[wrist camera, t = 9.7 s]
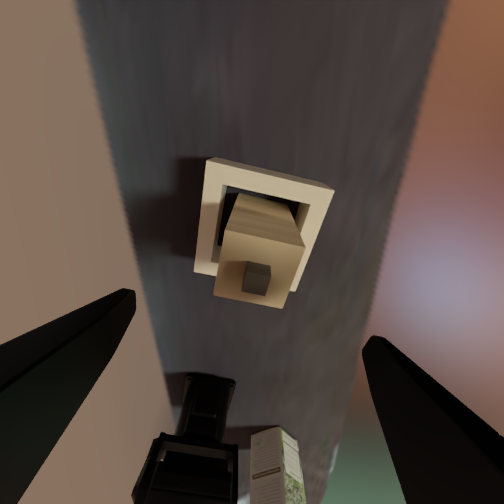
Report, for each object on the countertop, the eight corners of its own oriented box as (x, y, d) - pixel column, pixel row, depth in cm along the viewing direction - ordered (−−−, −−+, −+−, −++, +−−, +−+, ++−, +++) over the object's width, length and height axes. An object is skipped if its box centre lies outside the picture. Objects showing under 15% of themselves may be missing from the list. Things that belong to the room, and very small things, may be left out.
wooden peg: (273, 247, 19) (284, 321, 12) (230, 237, 19) (209, 307, 11) (287, 204, 18) (310, 257, 10) (238, 192, 17) (221, 238, 9)
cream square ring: (290, 272, 21) (295, 291, 18) (202, 254, 20) (193, 271, 17) (322, 182, 17) (334, 190, 14) (215, 157, 16) (206, 160, 14)
